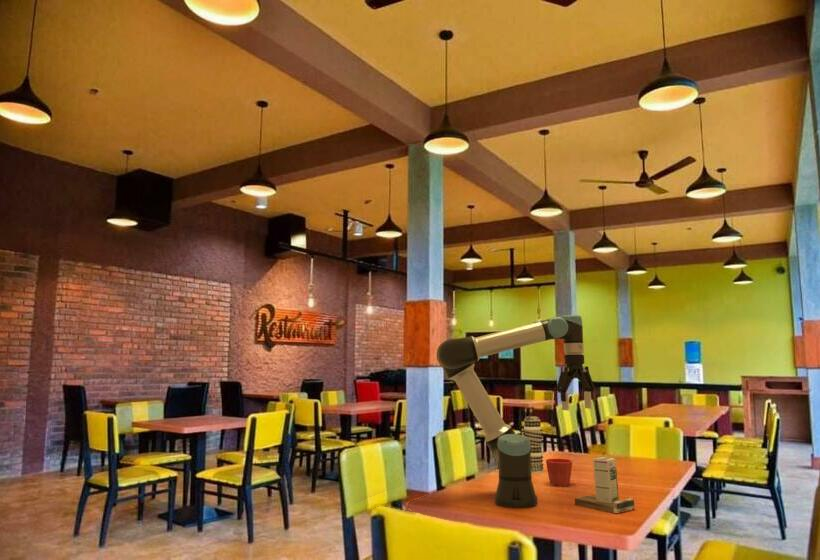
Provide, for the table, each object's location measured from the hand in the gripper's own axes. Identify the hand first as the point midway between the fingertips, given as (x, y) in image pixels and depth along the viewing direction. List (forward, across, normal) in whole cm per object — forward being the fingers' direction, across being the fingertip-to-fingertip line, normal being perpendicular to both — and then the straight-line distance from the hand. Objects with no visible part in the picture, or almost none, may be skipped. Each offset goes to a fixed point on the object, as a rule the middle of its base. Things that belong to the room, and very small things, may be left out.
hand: (577, 409), depth 227 cm
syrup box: (+30, -10, -19) cm, 37 cm away
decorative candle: (+32, +23, +45) cm, 60 cm away
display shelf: (+32, -10, -17) cm, 37 cm away
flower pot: (+32, +9, +18) cm, 38 cm away
